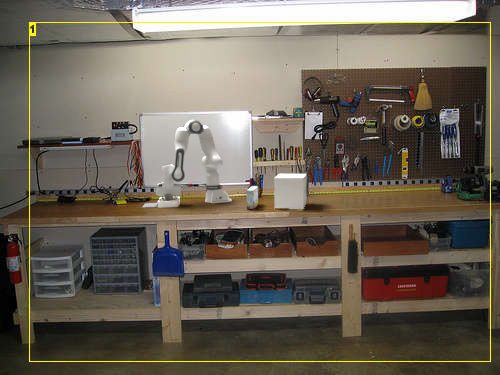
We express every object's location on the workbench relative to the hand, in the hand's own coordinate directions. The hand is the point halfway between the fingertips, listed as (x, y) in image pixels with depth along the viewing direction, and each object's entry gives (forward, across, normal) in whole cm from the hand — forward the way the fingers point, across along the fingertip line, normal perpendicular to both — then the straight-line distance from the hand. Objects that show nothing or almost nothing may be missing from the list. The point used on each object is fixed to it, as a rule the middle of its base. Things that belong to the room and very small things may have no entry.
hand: (169, 200), depth 304 cm
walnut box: (+4, 0, 0) cm, 4 cm away
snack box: (+4, -66, +22) cm, 70 cm away
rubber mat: (+4, +15, 0) cm, 15 cm away
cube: (+4, -95, +27) cm, 99 cm away
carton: (+4, 0, 0) cm, 4 cm away
